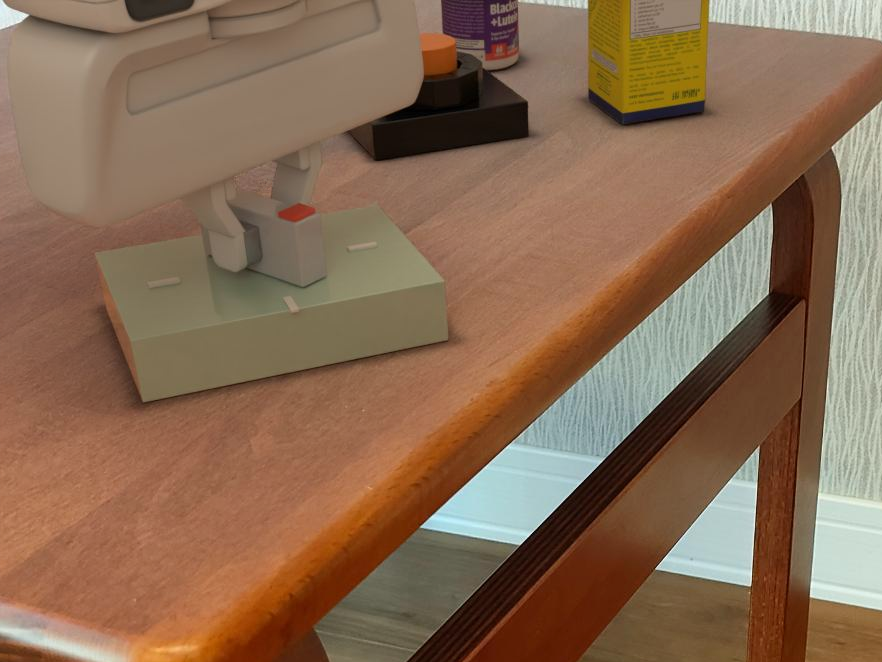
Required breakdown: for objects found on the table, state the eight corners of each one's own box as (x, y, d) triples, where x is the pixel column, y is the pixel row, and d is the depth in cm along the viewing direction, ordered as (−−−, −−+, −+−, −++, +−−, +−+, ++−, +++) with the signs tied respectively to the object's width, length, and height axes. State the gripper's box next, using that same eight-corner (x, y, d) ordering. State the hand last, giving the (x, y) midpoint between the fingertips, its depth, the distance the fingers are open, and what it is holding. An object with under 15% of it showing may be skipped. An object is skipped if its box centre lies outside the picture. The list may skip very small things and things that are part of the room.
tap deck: (144, 406, 60) (130, 340, 58) (105, 307, 68) (92, 246, 66) (451, 343, 64) (447, 280, 63) (380, 257, 72) (375, 198, 71)
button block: (375, 160, 84) (369, 94, 82) (337, 121, 90) (331, 57, 88) (529, 136, 87) (527, 71, 85) (483, 99, 93) (480, 37, 91)
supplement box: (666, 87, 95) (672, -87, 88) (706, 114, 90) (715, -68, 84) (584, 99, 93) (585, -78, 87) (621, 126, 88) (624, -58, 82)
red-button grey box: (204, 254, 66) (193, 187, 64) (229, 243, 67) (219, 177, 65) (303, 288, 62) (294, 219, 61) (328, 275, 63) (320, 207, 62)
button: (409, 82, 85) (408, 52, 84) (391, 66, 87) (389, 37, 86) (465, 74, 86) (464, 44, 85) (445, 58, 88) (444, 30, 87)
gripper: (341, -119, 65) (367, 172, 73) (-47, -29, 51) (37, 315, 59) (445, -105, 61) (461, 198, 69) (61, -4, 48) (134, 356, 56)
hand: (263, 253), depth 64 cm, fingers closed on red-button grey box, 2 cm apart
